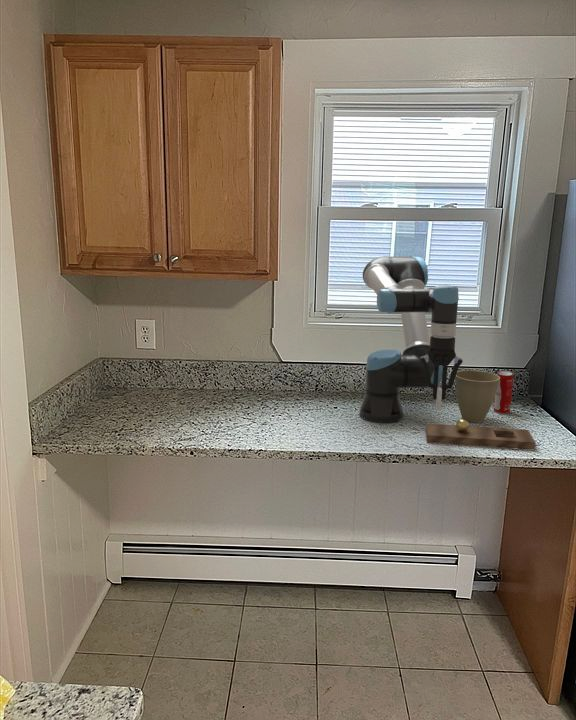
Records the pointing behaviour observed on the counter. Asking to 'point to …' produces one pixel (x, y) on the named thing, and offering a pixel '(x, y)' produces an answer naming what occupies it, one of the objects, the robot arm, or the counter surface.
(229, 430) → the counter surface
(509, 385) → the beverage can
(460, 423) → the brass ball
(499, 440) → the board
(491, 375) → the plant pot
